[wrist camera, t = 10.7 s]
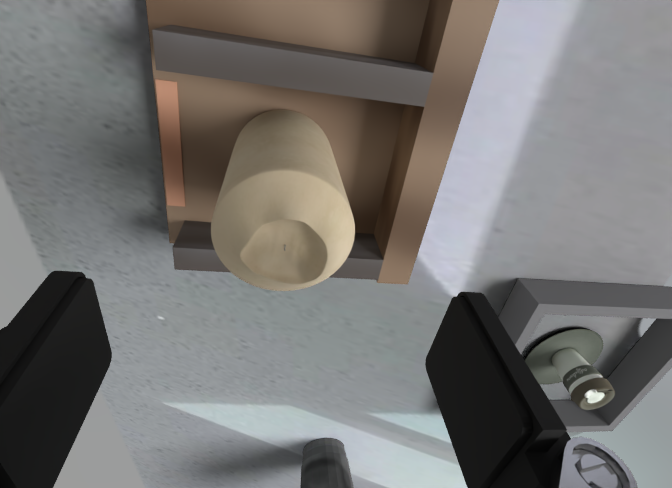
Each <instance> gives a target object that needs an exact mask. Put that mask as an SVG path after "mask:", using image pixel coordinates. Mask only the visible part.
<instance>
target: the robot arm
mask: <svg viewBox="0 0 672 488" xmlns="http://www.w3.org/2000/svg"><path fill="white" fill-rule="evenodd" d="M111 357H112V352H111V348H110V344H109V340H108V336H107V333H106V329H105V325H104V321H103V317H102V314H101V310H100V306H99V302H98V298H97V295H96V291H95V287H94V283H93V281H92V280H91V279H88V278H86V277H85V275H84V274H83V273H82V272H69V271H53V272H51V273H50V274H49V275H48V277H47V278H46V279H45V280H44V282H43V283H42V284H41V285H40V286H39V288H38V289H37V290H36V291H35V293H34V294H33V295H32V296H31V297H30V299H29V300H28V301H27V302H26V304H25V305H24V306H23V307H22V309H21V310H20V311H19V312H18V313H17V315H16V316H15V317H14V318H13V320H12V321H11V322H10V323H9V324H8V326H7V327H4V328H2V329H1V330H0V488H53V486H54V484H55V482H56V480H57V478H58V475H59V473H60V471H61V469H62V467H63V465H64V462H65V460H66V458H67V456H68V454H69V452H70V450H71V448H72V445H73V443H74V441H75V439H76V437H77V434H78V432H79V430H80V428H81V426H82V424H83V422H84V420H85V417H86V415H87V413H88V411H89V409H90V406H91V405H92V402H93V400H94V398H95V396H96V393H97V392H98V390H99V387H100V385H101V383H102V381H103V379H104V377H105V374H106V372H107V370H108V368H109V366H110V362H111ZM426 370H427V373H428V376H429V379H430V382H431V385H432V388H433V391H434V393H435V396H436V399H437V402H438V405H439V408H440V411H441V413H442V416H443V419H444V422H445V425H446V428H447V431H448V433H449V436H450V439H451V442H452V445H453V448H454V450H455V453H456V456H457V459H458V462H459V465H460V468H461V470H462V473H463V476H464V479H465V482H466V485H467V487H468V488H638V487H637V483H636V480H635V478H634V477H633V475H632V473H631V471H630V470H629V468H628V467H627V466H626V464H625V463H624V462H623V461H622V459H620V458H619V457H618V456H617V455H616V454H615V453H614V452H613V451H612V450H610V449H609V448H607V447H606V446H605V445H603V444H602V443H599V442H597V441H595V440H593V439H590V438H585V437H574V438H572V439H571V438H570V437H569V435H568V433H567V432H566V430H567V429H566V427H565V425H564V424H563V422H562V420H561V419H560V417H559V416H558V414H557V412H556V411H555V409H554V407H553V406H552V404H551V403H550V401H549V399H548V398H547V396H546V394H545V393H544V391H543V390H542V388H541V386H540V385H539V383H538V382H537V380H536V378H535V377H534V375H533V373H532V372H531V370H530V369H529V367H528V365H527V364H526V362H525V360H524V359H523V357H522V356H521V354H520V352H519V351H518V349H517V347H516V346H515V344H514V343H513V341H512V339H511V338H510V336H509V335H508V333H507V331H506V330H505V328H504V326H503V325H502V323H501V322H500V320H499V318H498V317H497V315H496V313H495V312H494V310H493V309H492V307H491V305H490V304H489V302H488V301H487V299H486V297H485V296H484V295H483V294H482V293H475V292H460V293H459V294H458V296H457V297H453V298H452V300H451V302H450V305H449V307H448V309H447V311H446V314H445V316H444V318H443V321H442V323H441V325H440V327H439V330H438V332H437V334H436V337H435V339H434V341H433V344H432V346H431V348H430V350H429V353H428V355H427V357H426Z"/></svg>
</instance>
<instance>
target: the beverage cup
mask: <svg viewBox="0 0 672 488" xmlns="http://www.w3.org/2000/svg"><path fill="white" fill-rule="evenodd" d="M301 488H354V487H353V482H352V478H351V473H350V468H349V464H348V459H347V457H346V453H345V451H344V445H343V443H342V442H341V441H339V440H337V439H332V438H323V439H317V440H314V441H312V442H310V443H309V444H307V445H306V446H305V447H304V449H303V461H302V468H301Z"/></svg>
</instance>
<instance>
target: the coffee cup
mask: <svg viewBox="0 0 672 488" xmlns="http://www.w3.org/2000/svg"><path fill="white" fill-rule="evenodd" d="M602 349H603V340H602V338H601V336H600V335H599V334H597V333H596V332H594V331H591V330H589V329H584V328H576V329H569V330H565V331H562V332H559V333H557V334H555V335H553V336H551V337H549V338H547V339H545V340H544V341H542V342H541V343H539V344H538V345H537V346H535V347H534V348H533V349H532V350H531V351H530V352H529V353H528V355H527V356H526V358H525V362H526V364H527V365H528V367H529V369H530V370H531V372H532V373H533V375H534V377H535V378H536V380H537V382H538V383H539V384H553V383H559V382H562V381H563V384H564V386H565V387H566V389H567V390H568V392H569V393H570V395H571V401H573V402H575V403H576V404H577V405H578V406H579V407H580V408H581V409H584V410H592V409H596V408H599V407H602V406H604V405H605V404H607V403H608V402H610V401H611V400H612V399H613V397H614V395H615V391H614V389H613V387H612V385H611V384H610V382H609V381H608V380H607V379H605V378H603V376H602V375H601V374H600V373H599V372H598V371H597V370H596V369H595V367H593V366H591V365H592V364H593V363H594V362H595V361H596V360H597V359H598V357H599V356H600V354H601V352H602Z"/></svg>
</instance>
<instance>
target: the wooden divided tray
mask: <svg viewBox="0 0 672 488" xmlns="http://www.w3.org/2000/svg"><path fill="white" fill-rule="evenodd" d="M498 3H499V0H146V7H147V17H148V27H149V37H150V47H151V58H152V68H153V78H154V88H155V98H156V108H157V119H158V129H159V139H160V149H161V159H162V169H163V179H164V190H165V200H166V210H167V220H168V230H169V240H170V243H174V246H173V256H174V267H175V269H177V270H197V271H216V272H230V271H229V270H228V269H227V268H226V267H225V265H224V264H223V263H222V262H221V260H220V259H219V257H218V256H217V253H216V251H215V249H214V246H213V243H212V238H211V222H212V217H213V213H214V210H215V207H216V203H217V200H218V197H219V194H220V191H221V187H222V184H223V181H224V178H225V174H226V171H227V168H228V165H229V161H230V158H231V155H232V152H233V149H234V146H235V143H236V140H237V138H238V136H239V134H240V132H241V131H242V129H243V128H244V127H245V125H246V124H247V123H248V122H249V121H251V120H252V119H253V118H255V117H256V116H258V115H260V114H262V113H265V112H267V111H272V110H280V109H282V110H291V111H295V112H299V113H301V114H303V115H305V116H307V117H309V118H310V119H312V120H313V121H314V122H315V123H316V124H318V126H319V127H320V128H321V129H322V130H323V132H324V133H325V135H326V137H327V139H328V141H329V143H330V146H331V149H332V152H333V155H334V158H335V161H336V164H337V167H338V170H339V173H340V177H341V180H342V183H343V186H344V189H345V192H346V195H347V198H348V201H349V205H350V208H351V211H352V214H353V218H354V223H355V237H354V242H353V246H352V249H351V251H350V254H349V255H348V257H347V259H346V260H345V262H344V263H343V264H342V266H341V267H340V268H339V269H338V270H337V271H336V272H335V273H334V274H332V275H331V276H330V277H335V278H354V279H374V280H377V283H391V284H408V282H409V279H410V276H411V273H412V270H413V266H414V263H415V260H416V257H417V254H418V251H419V248H420V245H421V242H422V238H423V235H424V232H425V229H426V226H427V223H428V220H429V217H430V214H431V211H432V207H433V204H434V201H435V198H436V195H437V192H438V189H439V186H440V183H441V180H442V176H443V173H444V170H445V167H446V164H447V161H448V158H449V155H450V152H451V148H452V145H453V142H454V139H455V136H456V133H457V130H458V127H459V124H460V121H461V117H462V114H463V111H464V108H465V105H466V102H467V99H468V96H469V93H470V90H471V86H472V83H473V80H474V77H475V74H476V71H477V68H478V65H479V62H480V58H481V55H482V52H483V49H484V46H485V43H486V40H487V37H488V34H489V31H490V27H491V24H492V21H493V18H494V15H495V12H496V9H497V6H498Z"/></svg>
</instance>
